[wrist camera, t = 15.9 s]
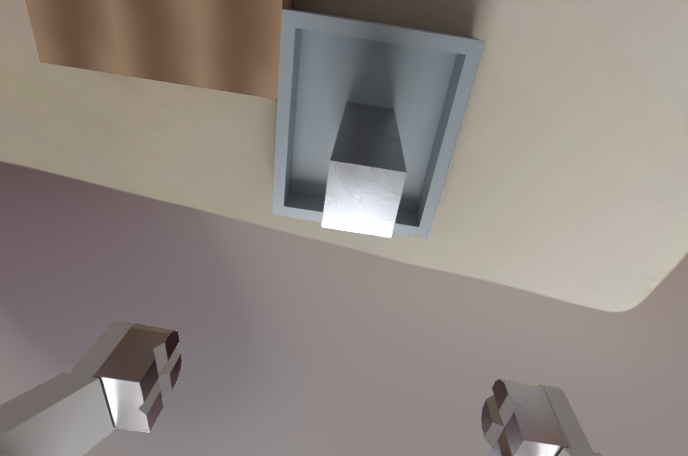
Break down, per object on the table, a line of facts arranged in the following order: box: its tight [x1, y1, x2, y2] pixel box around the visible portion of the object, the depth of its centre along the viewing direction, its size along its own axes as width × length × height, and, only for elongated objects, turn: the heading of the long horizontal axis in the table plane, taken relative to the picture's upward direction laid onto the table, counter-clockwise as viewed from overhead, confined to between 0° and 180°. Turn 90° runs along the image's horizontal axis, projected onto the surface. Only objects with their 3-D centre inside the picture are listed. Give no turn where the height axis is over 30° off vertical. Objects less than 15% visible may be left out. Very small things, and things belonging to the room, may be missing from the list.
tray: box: [272, 9, 485, 238], centre depth 32 cm, size 14×16×4 cm
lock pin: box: [321, 102, 407, 238], centre depth 27 cm, size 4×4×14 cm
